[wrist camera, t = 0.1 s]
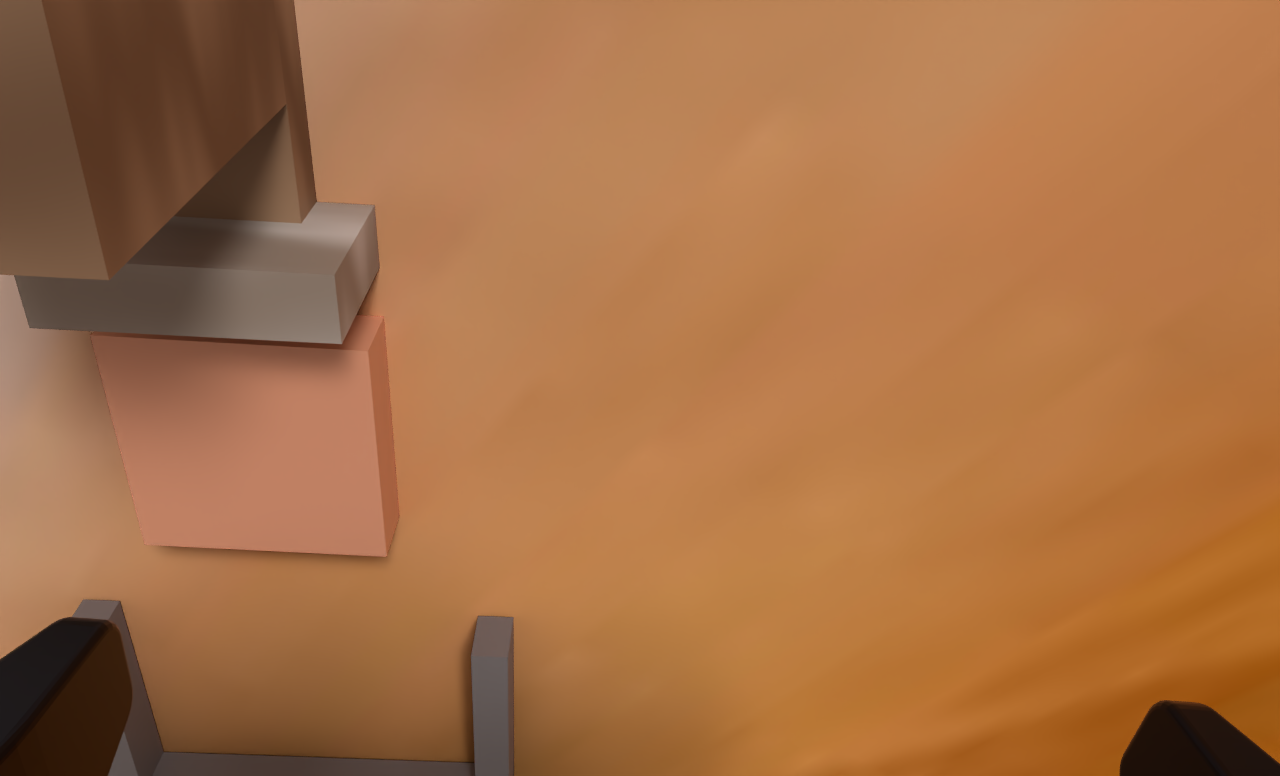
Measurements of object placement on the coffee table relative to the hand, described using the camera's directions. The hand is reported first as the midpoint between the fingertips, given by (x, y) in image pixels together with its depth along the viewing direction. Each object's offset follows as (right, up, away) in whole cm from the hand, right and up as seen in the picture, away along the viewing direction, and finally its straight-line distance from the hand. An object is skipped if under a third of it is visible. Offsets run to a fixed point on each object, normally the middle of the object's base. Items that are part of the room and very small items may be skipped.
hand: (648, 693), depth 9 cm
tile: (-9, +2, +16) cm, 19 cm away
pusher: (-9, +9, +12) cm, 17 cm away
